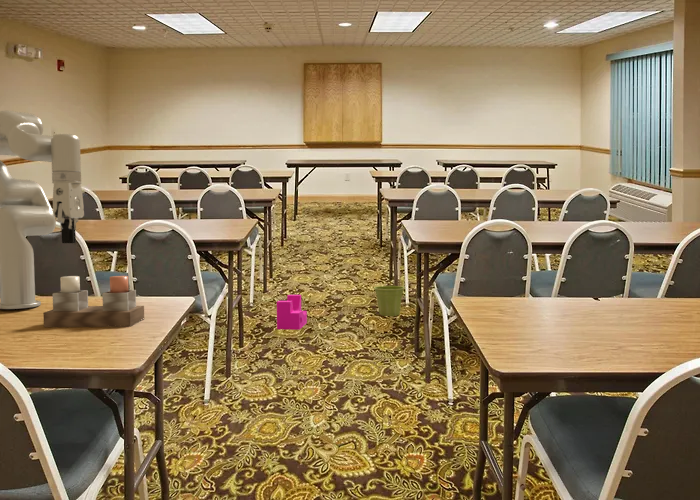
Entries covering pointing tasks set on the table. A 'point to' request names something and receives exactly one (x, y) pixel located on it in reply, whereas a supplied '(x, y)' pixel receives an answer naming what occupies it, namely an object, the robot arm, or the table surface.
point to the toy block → (291, 313)
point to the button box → (93, 310)
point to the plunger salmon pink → (119, 284)
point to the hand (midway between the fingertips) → (68, 242)
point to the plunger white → (70, 284)
